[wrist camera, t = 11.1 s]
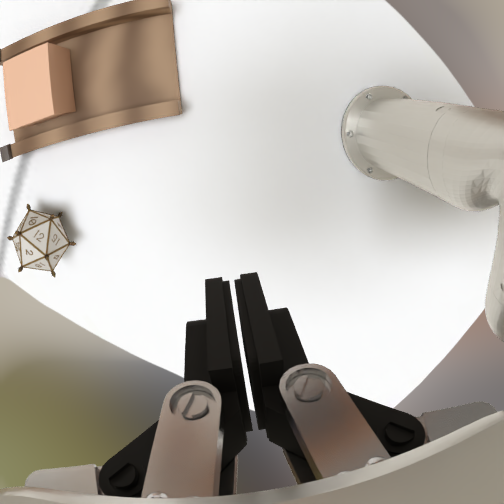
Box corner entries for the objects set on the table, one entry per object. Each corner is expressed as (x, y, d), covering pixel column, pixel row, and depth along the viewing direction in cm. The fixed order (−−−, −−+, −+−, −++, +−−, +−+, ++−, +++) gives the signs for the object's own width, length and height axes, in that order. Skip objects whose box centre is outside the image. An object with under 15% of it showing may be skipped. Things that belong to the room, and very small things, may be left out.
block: (69, 49, 26) (47, 42, 21) (76, 111, 30) (54, 114, 25) (28, 65, 26) (2, 62, 21) (35, 125, 30) (9, 130, 24)
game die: (61, 231, 41) (23, 286, 35) (30, 188, 35) (-15, 245, 29) (98, 236, 38) (56, 300, 32) (64, 186, 31) (11, 254, 26)
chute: (171, 3, 27) (166, -10, 23) (182, 114, 34) (178, 115, 29) (10, 54, 25) (-10, 52, 21) (21, 154, 32) (2, 162, 28)
